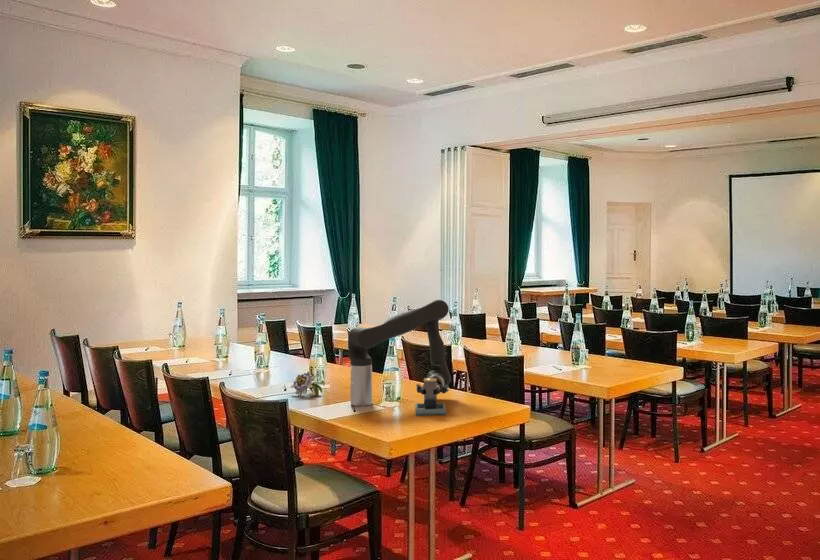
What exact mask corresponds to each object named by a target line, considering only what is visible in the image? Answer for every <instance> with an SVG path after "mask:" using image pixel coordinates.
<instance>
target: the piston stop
mask: <svg viewBox="0 0 820 560" xmlns="http://www.w3.org/2000/svg"><path fill="white" fill-rule="evenodd" d="M423 385H424V395H423V403H424V409H436V408H437V402H438V401H437V400H438V399H437V398H438V397H437V395H436V389H437V379H436V378H427V377H425V378H423Z"/></svg>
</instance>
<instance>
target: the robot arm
mask: <svg viewBox="0 0 820 560" xmlns="http://www.w3.org/2000/svg"><path fill="white" fill-rule="evenodd" d="M448 313H449V305H448V303H446V301H444V300H443V299H434V300H432V301H431V302H429V303H427V304H425V305H423V306H421V307H418V308H415V309H414V308H413V309H409V310H406V311H404V312H400V313H397V314H394V315H392V316H390V317H389V318H387V319H386V320H385V321H384V322H383V323H381V324H378V325H376V326H371V327H360V326H356V327H353V328H352V329H350V331H349V332H348V335H347V336H348V337H347V349H348V351H347V352H348V359H349V360H350V391H349V392H350V406H355V407H362V406H363V407H367V406H370V405H373V359H372V357H371V356H370V355H369V352H368V349H369V350H370V349H371V348H373V347H375V346H378V344H381V343H382V342H385V341H387V340H390V339H394V338H397V337H398V336H399V337H400V336H402V335H404V334H407V333H410V332H412V331H413V330H415V329H418V328H419V327H421V326H423V325H425V327H426V333H427V337H428V338H427V339H428V345H429V347H428V348H429V359H430V360H429V361H430V364H431V365H432V366H435V367H436V366H437V367H440V368H441V369H436V370H430V371H429V372H428V373H427V377H426V378H436V379H437V389H436V395H440V394H446V393H448V392H449V388H450V387H449V384H450V383H451V382H452V379H451V378H452V377H451V373H450V371H449V368H448V365H447V359H446V358H447V357H446V348H445V343H444V340H443V338H442V337H441V334H440V331H439V330H440V329H439V321H441V320H443V319H444V318H445V317H447V315H448ZM416 392H417V393H418V394H419V393H420V394H421V395H423V396H424V384H422V385H421V384H417V383H416Z"/></svg>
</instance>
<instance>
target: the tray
mask: <svg viewBox="0 0 820 560" xmlns="http://www.w3.org/2000/svg"><path fill="white" fill-rule="evenodd" d="M414 406H415V416H417V417H422V416H424V417H426V416H427V415H441V416H447V408H446V406H445V403H443V402H439V403H437V408H436V409H424V402H423V403H421V402H420V403H415V405H414Z"/></svg>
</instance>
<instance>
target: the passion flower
mask: <svg viewBox="0 0 820 560" xmlns="http://www.w3.org/2000/svg"><path fill="white" fill-rule="evenodd" d="M314 379H317V375H316V374H315V375H311V370H308V371H307V372H304V373H303V374H298V375H297V376H296V378H295V379H294V381H293V384H292V385H290V388H292V389H295V395H297V394H298V395H297V397H298V396H300V397H301V396H302V394H303V395H306V394H307V391H308V389H309V390H310V391H311V393H314V395H315V396H316V397H317V398H318V397H319V394H321V395H322V393H323V389H322V387H321V386H320V385H319V383H322V384H323V385H322V386H323V387H324V386H325V381H324V380H320V381H318V382H316V381H315V380H314ZM319 391H320V393H319Z"/></svg>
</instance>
